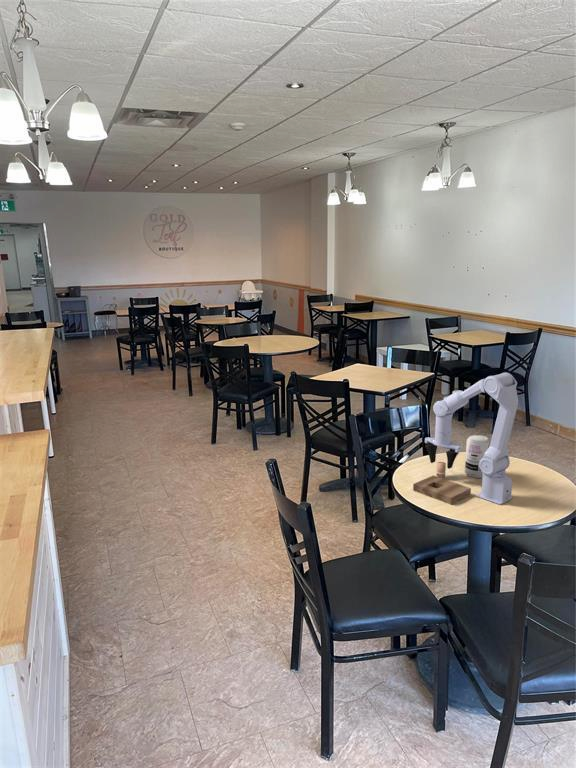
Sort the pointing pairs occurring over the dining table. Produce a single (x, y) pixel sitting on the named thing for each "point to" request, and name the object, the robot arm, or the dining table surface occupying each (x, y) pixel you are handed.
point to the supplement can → (475, 454)
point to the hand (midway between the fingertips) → (441, 465)
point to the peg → (441, 469)
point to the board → (442, 489)
